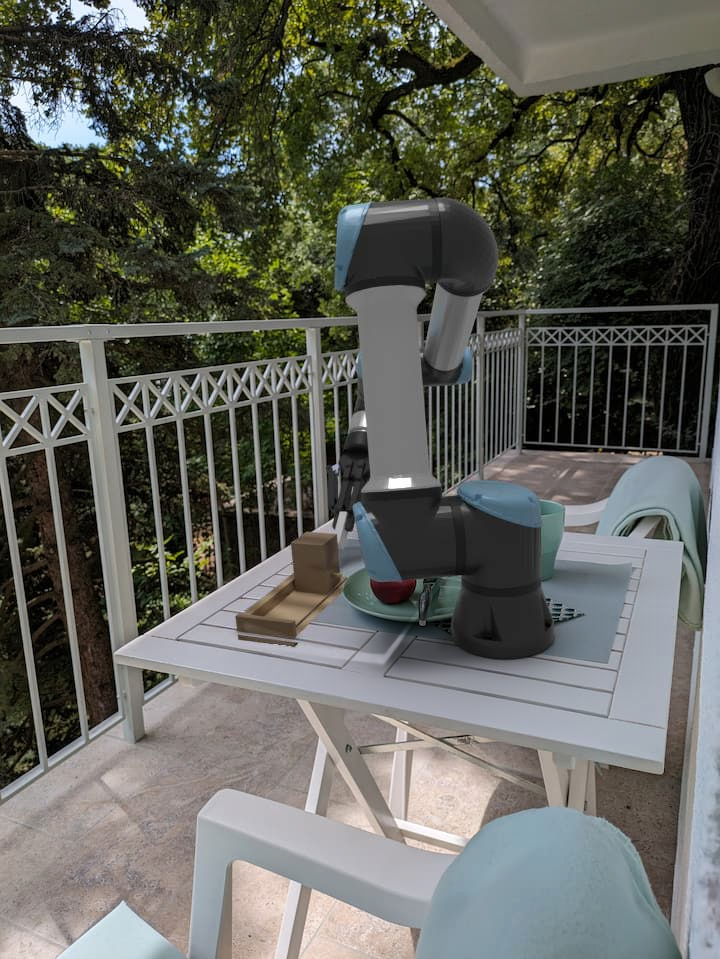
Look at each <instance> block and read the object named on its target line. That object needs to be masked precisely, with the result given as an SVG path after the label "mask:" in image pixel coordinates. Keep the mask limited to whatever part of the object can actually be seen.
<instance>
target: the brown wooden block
mask: <svg viewBox="0 0 720 959" xmlns="http://www.w3.org/2000/svg"><path fill="white" fill-rule="evenodd" d="M290 547H291V548H290V549H291V559H292V568H293V570H292V571H293V573H294V580H295V591H296V592H304V593H314V594H323V595H327V594H328V593H329V592H330V591H331V590H332V589H333V588H334V587H336V586H337V585H338V584H339V583H340V582H341V577H343V574H342V573H341V567H340V555H339V549H338V541H337V534H334V533H329V532H328V533H327V532H316V531H315V532H314V531H306V532H304V533H303V534H300V536H298V537H297V538H296V539H295V540H292V541H291V542H290Z"/></svg>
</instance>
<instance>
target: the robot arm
mask: <svg viewBox="0 0 720 959" xmlns="http://www.w3.org/2000/svg"><path fill="white" fill-rule="evenodd" d="M336 224H337V226H336V240H335V241H336V242H335V243H336V244H335V265H334V266H335V267H334V288H335V289H336V290H337V291H340V292H344V294H345V303H346V305H348V306H349V307H350V308H351V309H353V310H354V311H355V313H356V315H357V327H358V329H357V330H358V340H359V351H358V356H357V364H356V373H357V374H356V375H357V395H356V396H357V397H356V401H355V407H354V410H353V414H352V416H351V420H350V424H349V427H348V430H347V435H346V439H345V442H344V444H343V450H342V455H341V457H339V460H338V463H336V464H334V465H331V464H328V465H326V466H325V470H326V472H327V475H328V480H327V482H328V483H327V508H328V509H329V510H330V511H331V513H332V514H334V515H333V522H332V525H331V526H332V529H333V530H334V533H333V534H337V541H338V550H344V549H345V547H346V542H347V539H348V534H349V533H352V532H353V531H354V527H355V528H356V532H357V536H358V541H359V545H360V550H361V555H362V558H363V559H362V560H363V563H364V564H363V565H364V567H365V571H366V573H367V576H368V577H369V578H370V579H371V580H372V581H375V582H379V583H385V582H387V583H388V582H398V583H403V582H404V581H413V580H415V581H416V580H424V579H425V580H426V579H437V578H438V579H439V578H440V579H441V578H449V577H460V579H461V582H460V583H461V586H460V591H459V594H458V597H457V599H456V603H455V607H454V611H453V614H452V617H451V621H450V622H451V623H450V626H451V638H452V640H453V642H454V644H456V645H457V646H458V647H459V648H461V649H463V650H464V651H466V652H468V653H470V654H474V655H477V656H480V657H486V658H491V659H518V658H519V659H521V658H526V657H531V656H533V655H537V654H539V653H541V652H543V651H545V650H547V648H549V647H551V645H552V643H553V642H554V641H555V622H554V618H553V616H552V613H551V610H550V607H549V605H548V602H547V599H546V596H545V593H544V590H543V587H542V527H543V519H542V510H541V503H540V502H541V501H540V499H539V497H538V496H537V494H536V493H535V492H534V491H532V490H531V489H530V488H527V487H525V486H522V485H519V484H515V483H511V482H507V481H502V480H501V481H500V480H499V481H498V480H487V479H476V480H475V479H474V480H469V481H464V482H462V483H460V484H458V486H457V487H458V488H456V489H457V490H456V494H455V495H443V490H442V489H443V488H442V483H441V482H440V481H439V480H438V479H437V478H436V477H435V476H433V475H432V473H431V470H430V461H429V447H428V436H427V435H428V434H427V424H426V423H427V422H426V410H425V400H424V399H425V398H424V396H425V395H424V388H428V387H443V386H449V387H453V386H455V385H462V384H467V383H469V382H470V381H471V379H472V376H473V370H474V369H473V367H474V364H473V356H472V355H473V354H472V350H471V349H470V347H469V346H468V343H469V342H470V337H471V335H472V331H473V327H474V325H475V324H474V323H475V320H476V318H477V314H478V311H479V308H480V304H481V301H482V297H483V294H484V293H485V292H487V291H488V290H489V289H490V287H491V286H492V284H493V283H494V281H495V278H496V274H497V272H498V268H499V267H498V266H499V248H498V244H497V240H496V238H495V234H494V232H493V230H492V229H491V227H490V225H489V224H488V223H487V221H486V220H485V219H484V218H483V216H482V215H481V214H480V213H479V212H477V211H476V210H475V209H474V208H473V207H471V206H470V205H468V204H466V203H464V202H463V201H460V200H457V199H455V198H449V197H434V198H424V199H407V200H391V201H390V200H389V201H374V202H373V201H368V202H366V203H358V204H349V205H345V206H344V207H342V208H341V210H340V211H339V212H338V215H337V223H336ZM428 284H430V285H431V284H436V287H435V293H434V298H433V303H432V308H431V312H430V318H429V324H428V329H427V335H426V341H425V346H424V347H420V336H419V335H420V334H419V323H418V310H417V309H418V306H419V304H420V303H421V302H422V301H423V300H424V298H426V296H427V287H426V285H428ZM340 471H341V472H342V482H341V486H340V490H339V477H340Z"/></svg>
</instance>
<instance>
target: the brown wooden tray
mask: <svg viewBox="0 0 720 959" xmlns="http://www.w3.org/2000/svg"><path fill="white" fill-rule="evenodd" d="M348 578H349V577H347V576H346V577H345V576H344V577H343V576H342V577H341V582H340V583H339V584H338V585H337V586H336V587H334V588H333V589H332V590H331V591H330V592H329V593H328V594H327V595H323V594H314V593H304V592H296V591H295V580H294V572H293V573H291V574H290V575H289V576H288V577H286V578H285V579H284V580H283V581H281V582H280V583H279V584H278V585H276V586H275V587H273V589H271V590H270V591H269V592H267V593H266V594H265V595H263V596H262V597H261V598H260V599H259V600H258V601H256V602H255V603H254V604H253V605H251V606H250V607H249V608H248V609H246V610H245V611H244V612H243V613H236V615H235V616H234V617H235V625H236V631H237V632H241V633H248V634H256V635H263V636H272V637H277V638H278V637H279V638H286V639H292V640H293V639H295V638H296V637H297V636H298V635H299V634H300V633H301V632H303V631H304V630H305V628H307V627H308V625H309V624H311V623H312V622H313V621H314V620H315V618H317V617H318V616H319V615H320V614H321V613H322V612H323V611H324V610H325V609H326V608H327V607H328V606H330V604H331V603H332V602H333V601H334V600H335V599H336V598H337V597H338V596H339V595H340V594H342V592H343V591H344V590H343V586H344V583H345V581H346V580H347V579H348ZM237 639H238V640H240V641H245V642H246V641H247V642H252V643H253V642H255V643H261V644H266V643H267V645H273V644H278V645H277V646H281V645H286V646H285V647H288V646H291V647H290V648H296V647H297V646H298V645H299V644H298V643H299V642H297V641H296V642H295V641H290V640H289V641H287V640H282V639H276V638H275V639H274V638H268V637H267V638H266V637H258V636H251V635H243V634H237ZM297 644H298V645H297ZM296 645H297V646H296ZM295 646H296V647H295Z"/></svg>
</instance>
